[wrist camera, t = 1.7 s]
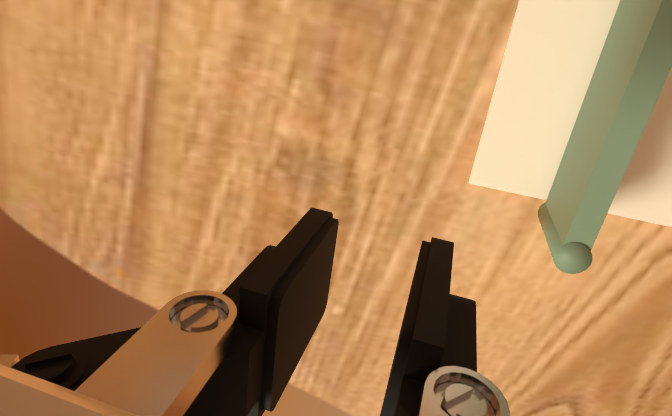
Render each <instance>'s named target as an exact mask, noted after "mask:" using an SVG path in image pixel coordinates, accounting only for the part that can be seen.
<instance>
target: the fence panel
mask: <svg viewBox="0 0 672 416" xmlns="http://www.w3.org/2000/svg"><path fill="white" fill-rule="evenodd" d="M671 68H672V0H620V2H619V5H618V8H617V11H616V13H615V16H614V19H613V21H612V24H611V27H610V30H609V32H608V35H607V38H606V40H605V43H604V46H603V48H602V51H601V54H600V57H599V59H598V62H597V65H596V67H595V70H594V73H593V76H592V78H591V81H590V84H589V86H588V89H587V92H586V95H585V97H584V100H583V103H582V105H581V108H580V111H579V113H578V116H577V119H576V122H575V124H574V127H573V130H572V132H571V135H570V138H569V141H568V143H567V146H566V149H565V151H564V154H563V157H562V160H561V162H560V165H559V168H558V170H557V173H556V176H555V178H554V181H553V184H552V187H551V189H550V192H549V195H548V197H547V200H546V202H545V203H544V204H542V205H541V207H540V208H539V210H538V217H539V220H540V223H541V226H542V229H543V231H544V234H545V237H546V240H547V243H548V246H549V248H550V251H551V254H552V257H553V260H554V263H555V265H556V267H557V268H558V269H559V270H561V271H563V272H565V273H569V274H576V273H580V272H583V271H584V270H586V269H587V268H588V267H589V266H590V265H591V262H592V254H591V252H590V251H591V249H592V247H593V244H594V242H595V240H596V238H597V235H598V233H599V231H600V228H601V226H602V224H603V222H604V219H605V217H606V215H607V213H608V210H609V208H610V206H611V204H612V201H613V199H614V197H615V195H616V192H617V190H618V188H619V185H620V183H621V181H622V179H623V176H624V174H625V172H626V170H627V167H628V165H629V163H630V161H631V158H632V156H633V154H634V152H635V149H636V147H637V145H638V142H639V140H640V138H641V136H642V133H643V131H644V129H645V127H646V124H647V122H648V120H649V118H650V115H651V113H652V111H653V109H654V106H655V104H656V102H657V99H658V97H659V95H660V93H661V90H662V88H663V86H664V84H665V81H666V79H667V77H668V75H669V72H670V70H671Z"/></svg>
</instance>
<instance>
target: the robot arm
mask: <svg viewBox="0 0 672 416" xmlns="http://www.w3.org/2000/svg"><path fill="white" fill-rule="evenodd" d="M337 231H338V219H334V218H333V214H332V213H331V212H328V211H323V210H319V209H315V208H311V209H310V210H309V211H308V212H307V213H306V214H305V215H304V216H303V217H302V219H301V220H300V221H299V222H298V223H297V224H296V225H295V226H294V227H293V229H292V230H291V231H290V232H289V233H288V234H287V235H286V236H285V237H284V239H283V240H282V241H281V242H280V243H279V244H278V245H277V246H276V247H275V246H271V245H269V246H267V247H266V248H265V249H264V250H263V251H262V252H261V253H260V254H259V255H258V256H257V257H256V258H255V259H254V260H253V261H252V262H251V263H250V264H249V266H248V267H247V268H246V269H245V270H244V271H243V272H242V273H241V274H240V275H239V276H238V277H237V278H236V279H235V280H234V281H233V282H232V283H231V285H230V286H229V287H228V288H227V289H226V290H225V291H224V292H223V293H222V294H221V293H218V292H213V291H193V292H188V293H184V294H182V295H180V296H177V297H175V298H174V299H172V300H171V301H169V302H168V303H167V304H166V305H165V306H164V307H163V308H162V309H160V310H159V311H158V312H157V313H156V314H155V315H154V316H153V317H152V318H151V319H150V320H149V321H148V322H147V323H146V324H145V325H144V326H143V327H141V328H136V329H131V330H127V331H122V332H118V333H113V334H108V335H103V336H99V337H95V338H89V339H85V340H80V341H75V342H71V343H67V344H61V345H57V346H52V347H49V348H46V349H43V350H39V351H37V352H34V353H32V354H30V355H29V356H26V357H24V358H23V359H21V360H20V361H19V357H18V355H0V416H262V414H263V413H264V411H265V410H268V411H273V410H274V408H275V406H276V404H277V402H278V401H279V399H280V397H281V395H282V393H283V391H284V389H285V387H286V385H287V383H288V381H289V380H290V378H291V376H292V374H293V372H294V370H295V368H296V366H297V364H298V362H299V360H300V358H301V357H302V355H303V353H304V351H305V349H306V347H307V345H308V343H309V341H310V339H311V337H312V335H313V334H314V332H315V330H316V328H317V326H318V324H319V322H320V320H321V318H322V316H323V314H324V312H325V308H326V305H327V299H328V292H329V285H330V279H331V272H332V265H333V258H334V251H335V244H336V238H337ZM453 247H454V242H450V241H445V240H441V239H437V238H433V237H432V240H431V243H430V242H426V241H422V245H421V249H420V253H419V257H418V261H417V265H416V269H415V273H414V277H413V281H412V286H411V290H410V294H409V298H408V302H407V306H406V310H405V314H404V318H403V322H402V326H401V331H400V335H399V339H398V343H397V347H396V351H395V356H394V360H393V364H392V368H391V372H390V377H389V381H388V385H387V389H386V393H385V398H384V402H383V406H382V410H381V414H380V416H510V411H509V407H508V403H507V401H506V399H505V397H504V396H503V394H502V392H501V391H500V390H499V389H498V388H497V387H496V386H495V385H494V384H493V383H492V382H491V381H490V380H488V379H487V378H485V377H484V376H483V375H481V374H479V373H477V352H476V302H475V301H474V300H470V299H467V298H463V297H459V296H455V295H452V294H450V282H451V270H452V259H453Z"/></svg>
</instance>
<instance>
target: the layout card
mask: <svg viewBox="0 0 672 416" xmlns="http://www.w3.org/2000/svg"><path fill="white" fill-rule="evenodd" d="M619 2H620V0H519V2H518V6H517V9H516V13H515V16H514V20H513V23H512V27H511V31H510V34H509V38H508V41H507V45H506V49H505V52H504V56H503V59H502V63H501V67H500V70H499V74H498V77H497V81H496V85H495V88H494V92H493V95H492V99H491V102H490V106H489V110H488V113H487V117H486V120H485V124H484V128H483V131H482V135H481V138H480V142H479V146H478V149H477V153H476V156H475V160H474V163H473V167H472V171H471V174H470V178H469V184H474V185H479V186H483V187H488V188H493V189H497V190H502V191H507V192H511V193H516V194H521V195H525V196H530V197H534V198H539V199H544V200H547V197H548V195H549V192H550V189H551V187H552V184H553V181H554V178H555V176H556V173H557V170H558V168H559V165H560V162H561V160H562V157H563V154H564V151H565V149H566V146H567V143H568V141H569V138H570V135H571V132H572V130H573V127H574V124H575V122H576V119H577V116H578V113H579V111H580V108H581V105H582V103H583V100H584V97H585V95H586V92H587V89H588V86H589V84H590V81H591V78H592V76H593V73H594V70H595V67H596V65H597V62H598V59H599V57H600V54H601V51H602V48H603V46H604V43H605V40H606V38H607V35H608V32H609V30H610V27H611V24H612V21H613V19H614V16H615V13H616V11H617V8H618V5H619ZM608 213H609V214H613V215H618V216H623V217H627V218H632V219H637V220H641V221H646V222H650V223H655V224H660V225H664V226H669V227H672V68H671V70H670V72H669V75H668V77H667V79H666V81H665V84H664V86H663V88H662V90H661V93H660V95H659V97H658V99H657V102H656V104H655V106H654V109H653V111H652V113H651V115H650V118H649V120H648V122H647V124H646V127H645V129H644V131H643V133H642V136H641V138H640V140H639V142H638V145H637V147H636V149H635V152H634V154H633V156H632V158H631V161H630V163H629V165H628V167H627V170H626V172H625V174H624V176H623V179H622V181H621V183H620V185H619V188H618V190H617V192H616V195H615V197H614V199H613V201H612V204H611V206H610V208H609V210H608Z"/></svg>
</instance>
